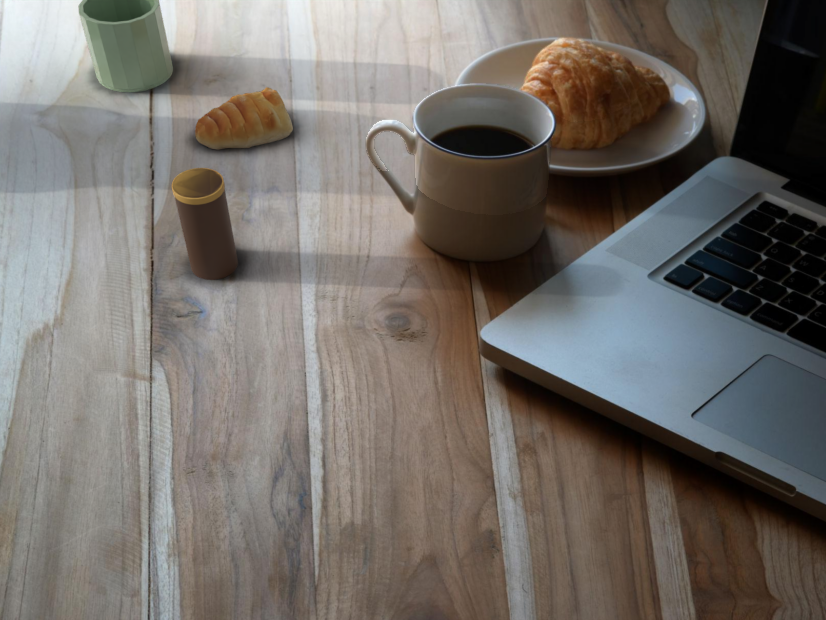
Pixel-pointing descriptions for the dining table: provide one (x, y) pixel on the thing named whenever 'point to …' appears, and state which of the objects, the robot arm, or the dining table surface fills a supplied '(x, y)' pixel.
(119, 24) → the canister
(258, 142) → the pastry
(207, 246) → the tube
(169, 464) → the dining table surface
